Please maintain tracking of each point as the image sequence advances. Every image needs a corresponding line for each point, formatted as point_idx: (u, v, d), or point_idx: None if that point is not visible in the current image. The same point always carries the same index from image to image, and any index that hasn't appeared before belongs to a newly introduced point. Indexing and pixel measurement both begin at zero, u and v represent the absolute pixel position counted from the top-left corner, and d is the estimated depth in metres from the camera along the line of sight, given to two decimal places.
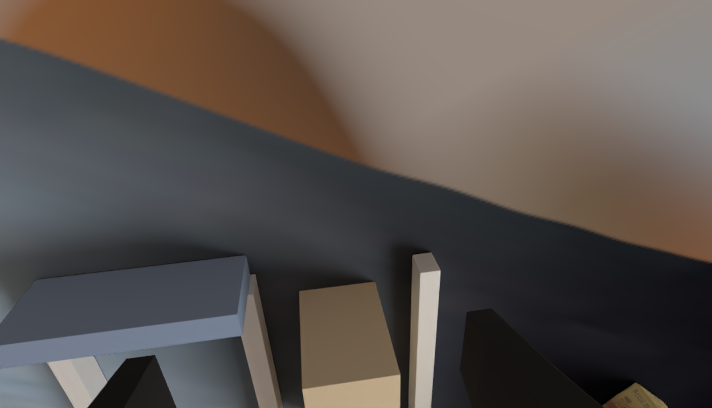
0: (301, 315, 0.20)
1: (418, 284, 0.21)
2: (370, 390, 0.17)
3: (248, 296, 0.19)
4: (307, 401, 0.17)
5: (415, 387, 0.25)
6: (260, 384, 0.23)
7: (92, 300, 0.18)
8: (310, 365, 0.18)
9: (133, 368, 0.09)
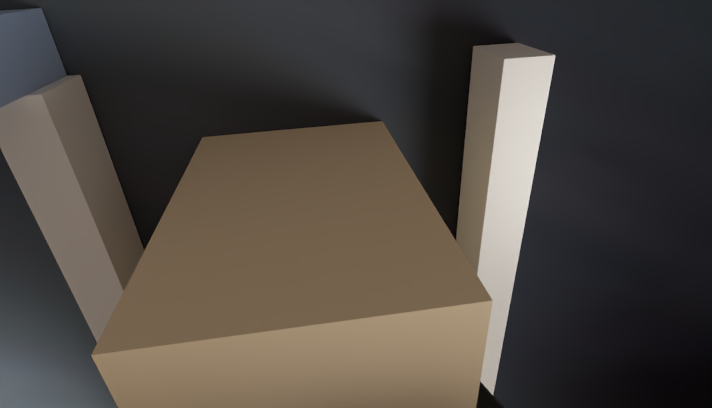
0: (188, 173, 0.08)
1: (491, 107, 0.08)
2: (374, 364, 0.05)
3: (28, 100, 0.07)
4: (131, 405, 0.04)
5: None
6: None
7: None
8: (161, 277, 0.05)
9: None
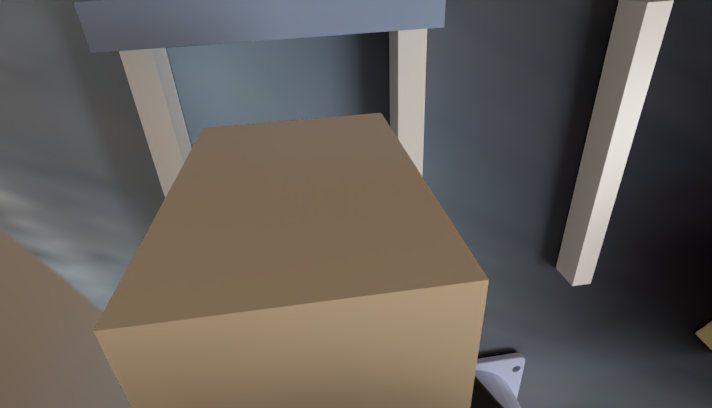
0: (188, 161, 0.08)
1: (633, 31, 0.16)
2: (372, 344, 0.05)
3: None
4: (132, 383, 0.04)
5: (590, 211, 0.19)
6: None
7: None
8: (162, 259, 0.05)
9: None
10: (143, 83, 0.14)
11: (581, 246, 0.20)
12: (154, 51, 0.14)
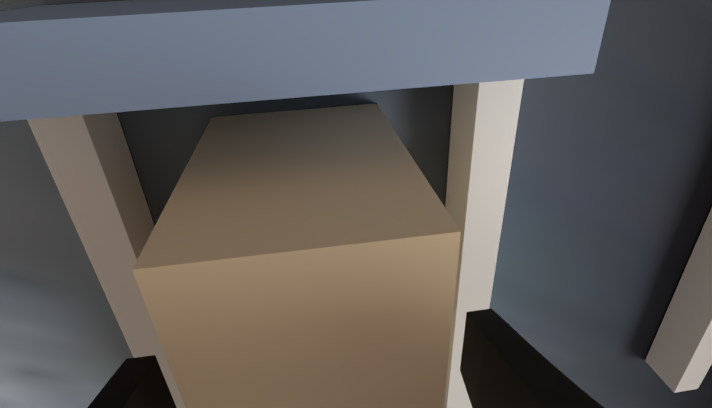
0: (201, 143, 0.08)
1: None
2: (362, 287, 0.06)
3: None
4: (161, 318, 0.05)
5: None
6: (471, 284, 0.12)
7: (185, 2, 0.07)
8: (185, 218, 0.06)
9: (134, 368, 0.09)
10: (65, 152, 0.08)
11: (695, 347, 0.15)
12: None
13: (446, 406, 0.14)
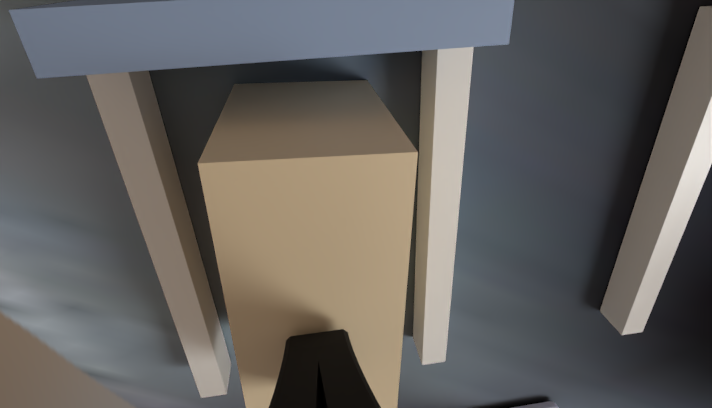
0: (229, 100, 0.11)
1: None
2: (350, 189, 0.08)
3: None
4: (212, 202, 0.08)
5: (649, 253, 0.16)
6: (439, 228, 0.14)
7: None
8: (227, 140, 0.08)
9: (304, 344, 0.09)
10: (116, 110, 0.11)
11: (636, 292, 0.17)
12: None
13: (423, 341, 0.17)
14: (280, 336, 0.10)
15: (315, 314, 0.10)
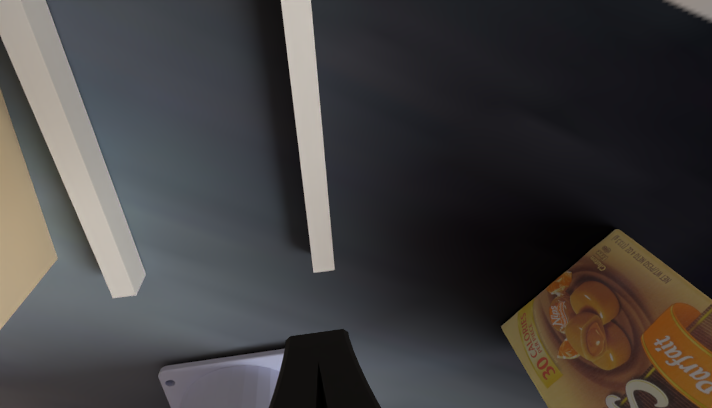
0: None
1: None
2: None
3: None
4: None
5: None
6: (63, 158, 0.16)
7: None
8: None
9: (304, 343, 0.09)
10: None
11: (308, 228, 0.19)
12: None
13: (103, 274, 0.18)
14: None
15: None
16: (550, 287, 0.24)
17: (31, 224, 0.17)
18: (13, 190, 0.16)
